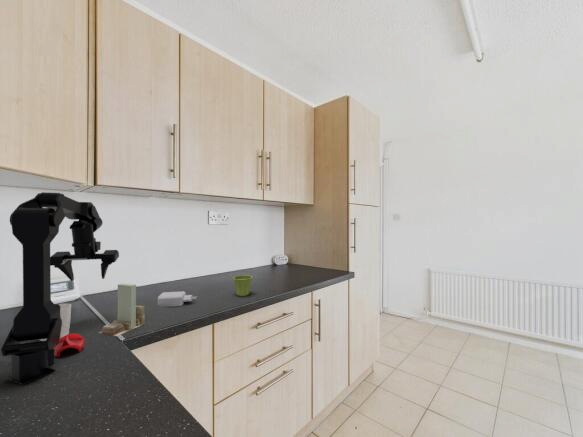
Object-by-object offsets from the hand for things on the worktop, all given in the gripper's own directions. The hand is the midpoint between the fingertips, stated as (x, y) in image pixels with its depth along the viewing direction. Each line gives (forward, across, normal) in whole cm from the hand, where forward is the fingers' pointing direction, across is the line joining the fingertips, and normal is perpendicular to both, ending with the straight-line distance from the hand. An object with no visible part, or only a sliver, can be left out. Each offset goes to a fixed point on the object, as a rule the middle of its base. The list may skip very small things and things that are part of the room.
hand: (88, 279), depth 94 cm
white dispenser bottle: (+19, -29, -9) cm, 36 cm away
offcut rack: (+12, -13, +16) cm, 24 cm away
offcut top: (+9, -12, +18) cm, 23 cm away
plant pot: (+20, -58, -13) cm, 63 cm away
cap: (+9, -4, +28) cm, 30 cm away
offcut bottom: (+10, -12, +18) cm, 24 cm away
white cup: (+12, +5, +16) cm, 20 cm away
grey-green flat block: (+11, -14, +14) cm, 23 cm away
